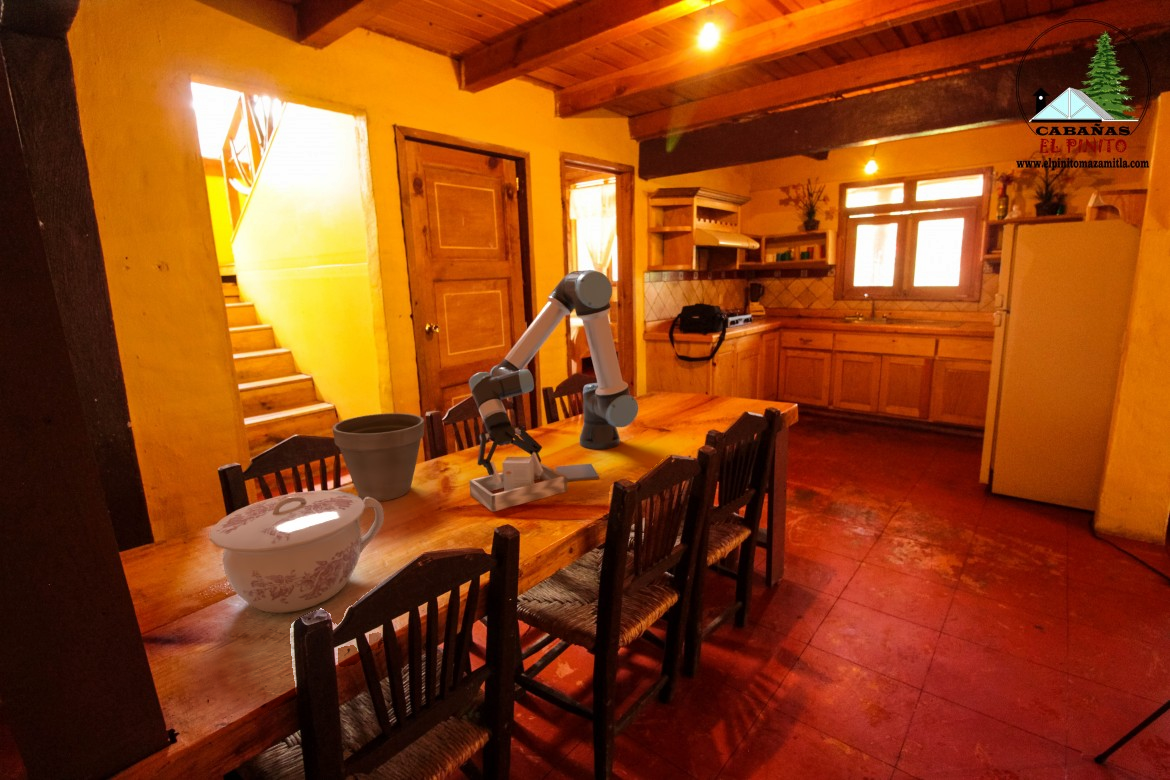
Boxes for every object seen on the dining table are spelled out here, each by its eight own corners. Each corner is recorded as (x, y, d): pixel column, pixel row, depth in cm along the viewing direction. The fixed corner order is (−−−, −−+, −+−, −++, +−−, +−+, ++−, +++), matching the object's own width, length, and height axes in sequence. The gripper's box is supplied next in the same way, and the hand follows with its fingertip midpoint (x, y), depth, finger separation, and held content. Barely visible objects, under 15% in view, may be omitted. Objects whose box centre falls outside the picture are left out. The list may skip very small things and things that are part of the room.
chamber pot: (188, 636, 100) (168, 530, 96) (271, 560, 127) (258, 474, 123) (343, 633, 100) (330, 526, 96) (394, 557, 127) (385, 471, 123)
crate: (541, 476, 176) (540, 463, 175) (567, 491, 164) (566, 476, 163) (470, 494, 162) (469, 480, 162) (492, 511, 150) (491, 496, 149)
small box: (534, 490, 165) (533, 456, 163) (531, 497, 160) (529, 462, 157) (508, 489, 166) (506, 456, 164) (503, 497, 160) (502, 462, 158)
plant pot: (429, 473, 181) (423, 408, 176) (429, 502, 158) (423, 428, 153) (346, 482, 174) (339, 415, 170) (334, 514, 151) (325, 437, 147)
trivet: (591, 465, 185) (591, 463, 185) (598, 478, 173) (598, 476, 173) (555, 468, 183) (555, 466, 183) (560, 481, 171) (560, 479, 171)
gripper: (527, 418, 179) (552, 475, 170) (453, 431, 165) (476, 494, 156) (534, 404, 173) (561, 463, 164) (458, 417, 160) (483, 481, 151)
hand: (520, 478), depth 160 cm, fingers open, 13 cm apart
